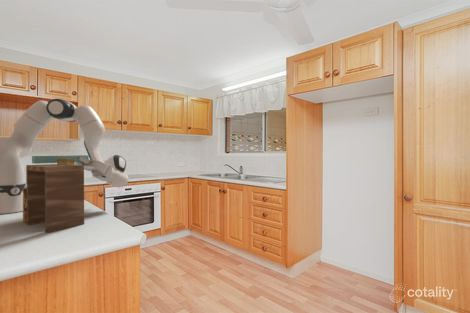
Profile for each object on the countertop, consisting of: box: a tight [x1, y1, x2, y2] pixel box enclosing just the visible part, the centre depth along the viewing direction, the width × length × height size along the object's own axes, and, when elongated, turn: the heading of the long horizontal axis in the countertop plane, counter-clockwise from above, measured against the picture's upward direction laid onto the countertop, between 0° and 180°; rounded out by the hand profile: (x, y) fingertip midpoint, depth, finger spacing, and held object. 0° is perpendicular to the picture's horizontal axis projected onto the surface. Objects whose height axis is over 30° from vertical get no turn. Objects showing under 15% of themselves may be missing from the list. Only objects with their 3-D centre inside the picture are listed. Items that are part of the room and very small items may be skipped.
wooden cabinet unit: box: [25, 158, 85, 233], centre depth 109 cm, size 20×14×29 cm
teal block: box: [31, 154, 90, 165], centre depth 115 cm, size 3×22×3 cm, turn 148°
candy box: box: [22, 188, 27, 223], centre depth 115 cm, size 9×4×15 cm, turn 123°
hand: (76, 157), depth 120 cm, fingers closed on teal block, 3 cm apart
